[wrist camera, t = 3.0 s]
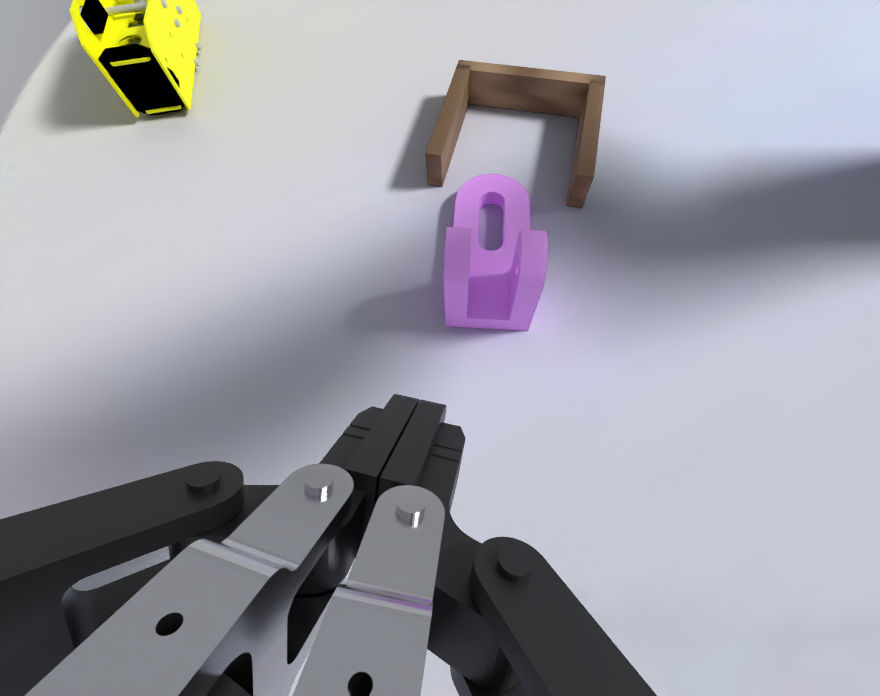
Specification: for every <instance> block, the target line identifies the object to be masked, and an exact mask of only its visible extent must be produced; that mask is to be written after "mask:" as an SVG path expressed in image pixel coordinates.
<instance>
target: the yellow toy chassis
mask: <svg viewBox="0 0 880 696" xmlns="http://www.w3.org/2000/svg"><path fill="white" fill-rule="evenodd" d="M79 7H82V11H81V14H80V11H79ZM69 11H70V14H71V17H72V20H73V23H74V26H75V29H76V32H77V35H78V38H79V41H80V44H81V46H82V47H83V49H84V50H85V51H86V53H87V54H88V55H89V57H90V58H91V59H92V61H93V62H94V63H95V64H96V66H97V67H98V68H99V70H100V71H101V72H102V74H103V75H104V76H105V78H106V79H107V80H108V81H109V83H110V84H111V85H112V87H113V88H114V89H115V91H116V92H117V93H118V95H119V96H120V97H121V98H122V100H123V101H124V102H125V104H126V105H127V106H128V108H129V109H130V110H131V112H132V113H133V114H134V115H135V117H136V118H137V117H139V112H142V113H146V114H149V115H157V114H164V113H170V112H177V111H181V110H182V108H183V107H184V106H186V107H187V109H188V110H189V109H190V107H191V99H192V90H193V81H194V72H195V66H199V65H200V64H199V61H198V59H196V55H197V50H200V49H201V46H200V44H199V43H198V37H199V28H200V20H201V13H200V11H199V9H198V7H197V5H196V2H195V0H73V2H72V4H71V7H70V10H69ZM82 18H83V19H82ZM83 20H84V21H85V22H86V24H87V25H88V27H89V28H90V29H91V31H92V32H93V33H92V32H91V31H90V30H89V29H88V27H87V26H86V25H85V23H84V21H83Z"/></svg>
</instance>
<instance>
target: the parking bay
mask: <svg viewBox="0 0 880 696" xmlns="http://www.w3.org/2000/svg"><path fill="white" fill-rule="evenodd" d="M605 78H606V76H600V75H591V74H582V73H573V72H564V71H555V70H546V69H537V68H528V67H519V66H510V65H501V64H491V63H482V62H473V61H464V60H459V62H458V64H457V67H456V70H455V73H454V75H453V78H452V81H451V84H450V87H449V89H448V92H447V95H446V98H445V100H444V103H443V106H442V109H441V112H440V114H439V117H438V120H437V123H436V125H435V128H434V131H433V134H432V137H431V139H430V142H429V145H428V148H427V151H426V165H427V177H428V184H429V185H436V186H443V183H444V180H445V176H446V173H447V170H448V167H449V164H450V161H451V158H452V155H453V152H454V148H455V145H456V142H457V139H458V136H459V133H460V130H461V127H462V124H463V120H464V117H465V114H466V111H467V108H468V105H469V104H474V105H482V106H490V107H498V108H506V109H514V110H522V111H530V112H538V113H546V114H554V115H562V116H570V117H578V118H579V125H578V131H577V138H576V145H575V151H574V158H573V165H572V171H571V178H570V185H569V191H568V198H567V206H574V207H580V208H582V206H583V204H584V201H585V199H586V196H587V193H588V191H589V188H590V185H591V183H592V180H593V178H594V171H595V162H596V154H597V145H598V137H599V129H600V120H601V112H602V103H603V95H604V87H605Z"/></svg>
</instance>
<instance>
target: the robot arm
mask: <svg viewBox="0 0 880 696" xmlns="http://www.w3.org/2000/svg"><path fill="white" fill-rule="evenodd" d="M445 414H446V405H443V404H439V403H434V402H430V401H425V400H419V399H416V398H411V397H407V396H402V395H398V394H394V395H393V396H392V397H391V399H390V400H389V402H388V403H387V405H386V406H385V408H384V409H381V408H376V407H370V408H368V409H367V410H365V411H363V412H361V413H359V414H358V415H357V416H356V417H355V419H354V420H353V421H352V422H351V424H350V426H348V428H347V429H346V430H345V431H344V433H343V435H341V436H340V438H339V439H338V440H337V442H336V443H335V444H334V445H333V447H332V448H331V449H330V451H329V452H328V453H327V454H326V456H325V457H324V458H323V459H322V461H321V462H320V463H319V464H313V465H308V466H305V467H302V468H300V469H298V470H296V471H295V472H293V473H292V474H291V475H290V476H289V477H288V478H287V479H286V480H285V481H284V482H283V483H282V484H281V485H244V481H243V474H242V471H241V470H240V469H239V468H238V467H237V466H235V465H233V464H230V463H227V462H219V461H211V462H203V463H198V464H194V465H191V466H187V467H184V468H180V469H177V470H173V471H170V472H166V473H162V474H159V475H155V476H152V477H148V478H145V479H141V480H138V481H134V482H131V483H127V484H124V485H120V486H117V487H113V488H110V489H106V490H103V491H99V492H95V493H92V494H88V495H85V496H81V497H78V498H74V499H71V500H67V501H64V502H60V503H57V504H53V505H50V506H46V507H43V508H39V509H36V510H32V511H29V512H25V513H21V514H18V515H14V516H11V517H7V518H4V519H0V696H288V695H289V692H290V689H291V686H292V684H293V681H294V679H295V677H296V675H297V673H298V671H299V669H300V668H301V666H302V664H303V662H304V661H305V659H306V657H307V655H308V653H309V652H310V654H309V656H308V659H307V661H306V664H305V666H304V669H303V671H302V674H301V676H300V679H299V681H298V684H297V686H296V689H295V691H294V694H293V696H420V694H421V687H422V680H423V673H424V666H425V659H426V652H427V649H428V650H430V651H431V652H432V653H434V654H435V655H436V656H438V657H439V658H440V659H442V660H443V661H444V662H446V663H447V664H449V665H450V671H451V676H452V680H453V682H454V685H455V687H456V689H457V692H458V694H459V696H657V695H656V694H655V693H654V692H653V690H652V689H651V688H650V687H649V686H648V684H647V683H646V682H645V681H644V679H643V678H642V677H641V676H640V675H639V673H638V672H637V671H636V670H635V668H634V667H633V666H632V665H631V664H630V662H629V661H628V660H627V659H626V658H625V656H624V655H623V654H622V653H621V651H620V650H619V649H618V648H617V647H616V645H615V644H614V643H613V642H612V640H611V639H610V638H609V637H608V636H607V634H606V633H605V632H604V631H603V629H602V628H601V627H600V626H599V625H598V623H597V622H596V621H595V620H594V618H593V617H592V616H591V615H590V614H589V612H588V611H587V610H586V609H585V607H584V606H583V605H582V604H581V603H580V601H579V600H578V599H577V598H576V596H575V595H574V594H573V593H572V592H571V590H570V589H569V588H568V587H567V585H566V584H565V583H564V582H563V581H562V579H561V578H560V577H559V576H558V574H557V573H556V572H555V571H554V570H553V568H552V567H551V566H550V565H549V564H548V562H547V561H546V560H545V559H544V557H543V556H542V555H541V554H540V553H539V552H538V551H537V550H535V549H534V548H533V547H531V546H530V545H528V544H527V543H525V542H523V541H520V540H517V539H514V538H510V537H495V538H491V539H489V540H487V541H485V542H484V543H482V544H481V543H479V542H478V541H476V540H474V539H472V538H471V537H469V536H468V535H466V534H465V533H464V532H463V531H461V530H460V529H459V528H458V527H457V525H456V524H455V523H454V521H453V519H452V517H451V515H450V509H451V505H452V501H453V497H454V493H455V489H456V484H457V479H458V474H459V469H460V464H461V459H462V454H463V448H464V443H465V436H464V434H463V432H462V429H461V427H460V426H456V425H451V424H447V423H444V420H445ZM166 546H168V547H169V555H170V559H169V560H166V561H164V562H161V563H159V564H156V565H154V566H151V567H149V568H146V569H144V570H141V571H139V572H136V573H134V574H131V575H129V576H127V577H124V578H122V579H119V580H117V581H114V582H112V583H109V584H107V585H104V586H102V587H99V588H96V589H93V590H89V591H78V590H75V589H73V588H72V587H71V586H72V585H73V584H75V583H76V582H78V581H79V580H81V579H83V578H85V577H88V576H90V575H93V574H95V573H98V572H101V571H103V570H106V569H108V568H111V567H114V566H116V565H119V564H121V563H124V562H127V561H129V560H132V559H135V558H137V557H140V556H142V555H145V554H148V553H150V552H153V551H155V550H158V549H161V548H163V547H166ZM354 559H355V561H354ZM353 561H354V563H353ZM352 563H353V566H352V569H351V571H350V574H349V577H348V579H347V581H346V575H347V574H348V572H349V569H350V567H351V565H352ZM310 650H311V651H310Z"/></svg>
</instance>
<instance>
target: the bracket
mask: <svg viewBox="0 0 880 696" xmlns="http://www.w3.org/2000/svg"><path fill="white" fill-rule="evenodd" d="M487 204H495V205H498V206H499V207H501V209H502V210H503V240H502V246H501V247H500V248H499V249H497V250H493V251H490V250H486V249H483V248H482V247H481V246H480V245H479V243H478V231H479V212H480V209H481V208H482V207H483V206H484V205H487ZM547 258H548V238H547V233H546V231H544V230H530V199H529V195H528V193H527V191H526V189H525V188H524V187H523V186H522V185H521V184H520V183H519V182H517V181H516V180H514V179H512V178H510V177H507V176H504V175H499V174H485V175H480V176H477V177H474V178H472V179H470V180H468V181H467V182H466V183H464V184H463V185H462V186H461V188H460V189H459V191H458V193H457V195H456V201H455V213H454V224H453V227H447V230H446V238H445V250H444V301H445V320H446V326H453V327H470V328H488V329H506V330H523V331H528V330H529V327H530V324H531V321H532V318H533V315H534V312H535V309H536V307H537V304H538V301H539V298H540V295H541V292H542V289H543V286H544V281H545V276H546V269H547Z"/></svg>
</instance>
